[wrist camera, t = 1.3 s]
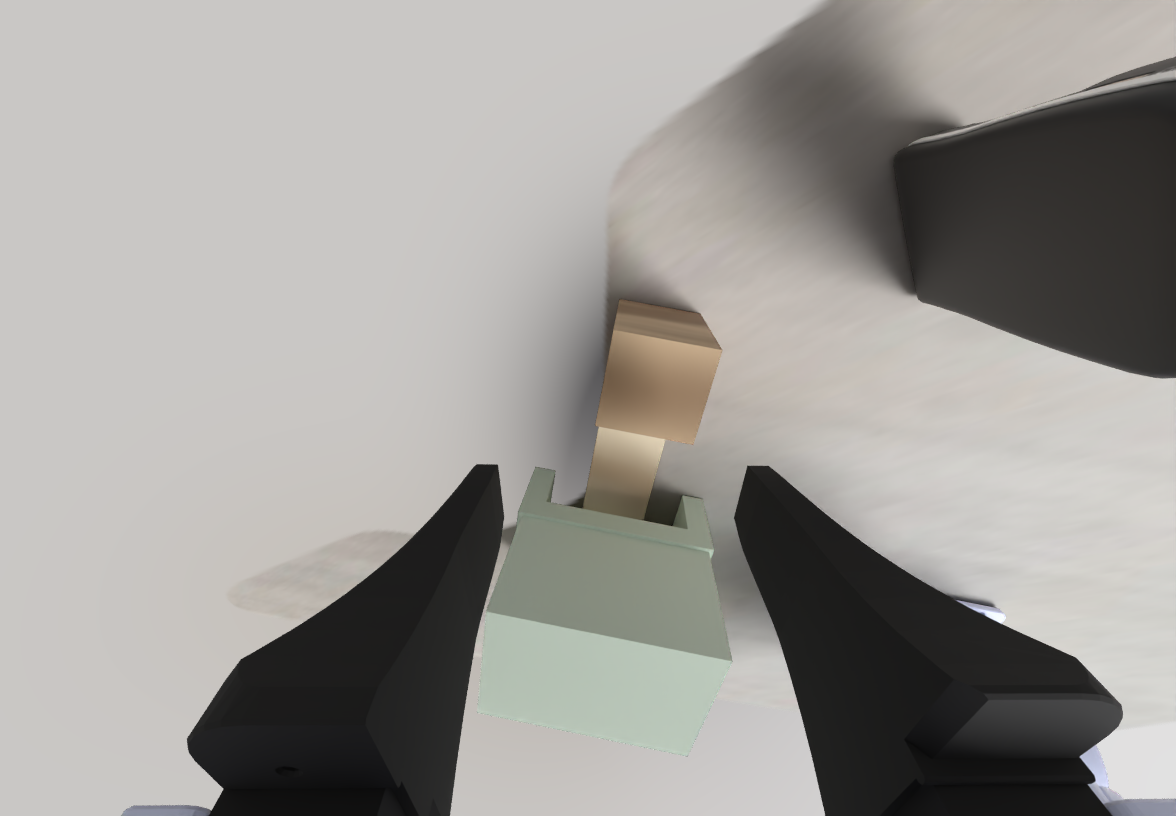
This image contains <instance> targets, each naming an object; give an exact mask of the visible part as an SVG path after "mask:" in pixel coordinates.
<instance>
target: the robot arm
mask: <svg viewBox="0 0 1176 816" xmlns="http://www.w3.org/2000/svg"><path fill="white" fill-rule="evenodd" d="M734 519H735V523H736V527H737V531H738V535H739V538H740V542H741V545H742V549H743V552H744V554H745V557H746V559H747V562H748V564H749V566H750V569H751V571H752V574H753V576H754V579H755V581H756V583H757V586H758V588H759V591H760V593H761V595H762V598H763V600H764V602H765V605H766V607H767V610H768V612H769V614H770V617H771V619H772V622H773V624H774V627H775V630H776V632H777V635H778V638H779V641H780V644H781V647H782V650H783V654H784V657H785V660H786V663H787V667H788V670H789V673H790V677H791V680H792V684H793V687H794V691H795V694H796V698H797V701H798V705H799V709H800V712H801V716H802V720H803V724H804V727H805V731H806V735H807V739H808V743H809V747H810V751H811V755H812V758H813V763H814V767H815V772H816V776H817V781H818V785H819V789H820V794H821V798H822V802H823V807H824V811H825V816H1176V799H1123V798H1122V797H1121V795H1120V794H1119V793H1117V792H1115V791H1113V790H1111V789H1109V784H1108V776H1107V772H1106V768H1105V765H1104V762H1103V760H1102V757H1101V755H1100V752H1099V750H1098V748H1097V746H1096V744H1097V743H1099V742H1100V741H1101V740H1103V739H1104V738H1105V737H1107V736H1108V735H1109V734H1111V733H1112V732H1113V731H1114V730H1115V729H1116V728H1117V727H1118V726H1119V724H1120V722H1121V720H1122V718H1123V711H1122V706H1121V704H1120V703H1119V702H1118V701H1117V700H1116V699H1115V698H1114V697H1113V696H1112V695H1111V694H1110V693H1109V692H1108V691H1107V689H1106V688H1105V687H1104V686H1103V685H1102V684H1101V683H1100V682H1099V681H1098V680H1097V679H1096V678H1095V677H1094V676H1093V675H1092V674H1091V673H1090V672H1089V671H1088V670H1087V669H1086V668H1085V667H1084V665H1083V664H1082V663H1081V662H1080V661H1079V660H1078V659H1077V658H1075V657H1073V656H1071V655H1069V654H1067V653H1064V652H1062V651H1060V650H1058V649H1055V648H1053V647H1051V646H1049V645H1046V644H1044V643H1042V642H1040V641H1038V640H1035V639H1033V638H1031V637H1029V636H1026V635H1024V634H1022V633H1020V632H1017V631H1015V630H1013V629H1011V628H1009V627H1007V626H1005V625H1003V624H1002V622H1003V621H1004V620H1005V618H1006V616H1005V614H1004V613H1003V612H1002V611H1001V610H1000V609H998V608H994V607H989V606H984V605H979V604H974V603H968V602H963V601H958V600H954V599H952V598H950V597H949V596H947V595H945V594H943V593H942V592H940V591H938V590H936V589H935V588H933V587H931V586H929V585H928V584H926V583H924V582H922V581H921V580H919V579H917V578H916V577H914V576H912V575H911V574H909V573H908V572H906V571H904V570H903V569H901V568H900V567H898V566H897V565H895V564H894V563H892V562H891V561H889V560H888V559H886V558H884V557H883V556H881V555H880V554H878V553H877V552H875V551H874V550H873V549H871V548H870V547H868V546H867V545H865V544H864V543H863V542H861V541H860V540H859V539H857V538H856V537H855V536H853V535H852V534H851V533H849V532H848V531H847V530H845V529H844V528H843V527H841V526H840V525H839V524H838V523H836V522H835V521H834V520H832V519H831V518H830V517H829V516H828V515H826V514H825V513H824V512H823V511H821V510H820V509H819V508H818V507H817V506H815V505H814V504H813V503H812V502H811V501H809V500H808V499H807V498H806V497H805V496H804V495H802V494H801V493H800V492H799V491H798V490H797V489H795V488H794V487H793V486H792V485H791V484H790V483H788V482H787V481H786V480H785V479H784V478H783V477H781V476H780V475H779V474H778V473H777V472H775V471H774V470H773V469H772V468H770V467H769V466H747V470H746V474H745V478H744V481H743V485H742V489H741V493H740V497H739V501H738V505H737V509H736V512H735V516H734ZM503 521H504V512H503V503H502V496H501V486H500V478H499V470H498V465H483V464H477V465H476V466H474V467H473V469H472V470H471V471H470V472H469V474H468V475H467V476H466V477H465V479H464V480H463V481H462V483H461V484H460V485H459V486H458V488H457V489H456V490H455V491H454V492H453V494H452V495H451V496H450V497H449V498H448V499H447V501H446V502H445V503H444V504H443V505H442V506H441V507H440V509H439V510H438V511H437V512H436V513H435V514H434V515H433V517H432V518H431V519H430V520H429V521H428V522H427V523H426V524H425V525H424V526H423V527H422V528H421V529H420V530H419V531H418V532H417V533H416V534H415V535H414V536H413V537H412V538H411V539H410V540H409V541H408V542H407V543H406V544H405V545H404V546H403V547H402V548H401V549H400V550H399V551H398V552H397V553H395V554H394V555H393V556H392V557H391V558H390V559H389V560H387V561H386V562H385V563H384V564H383V565H382V566H381V567H379V568H378V569H377V570H376V571H374V572H373V573H372V574H371V575H370V576H368V577H367V578H366V579H364V580H363V581H362V582H361V583H359V584H358V585H357V586H355V587H354V588H353V589H351V590H350V591H349V592H348V593H346V594H345V595H343V596H342V597H341V598H339V599H338V600H336V601H335V602H334V603H332V604H331V605H329V606H328V607H326V608H325V609H323V610H322V611H320V612H319V613H317V614H316V615H314V616H313V617H311V618H310V619H308V620H307V621H305V622H304V623H302V624H300V625H299V626H297V627H296V628H294V629H293V630H291V631H289V632H287V633H286V634H284V635H282V636H281V637H279V638H277V639H275V640H274V641H272V642H270V643H269V644H267V645H265V646H264V647H262V648H260V649H259V650H257V651H255V652H253V653H252V654H250V655H248V656H246V657H244V658H243V659H241V660H240V661H239V663H238V664H237V666H236V667H235V668H234V669H233V671H232V672H231V674H230V675H229V676H228V678H227V679H226V680H225V682H224V683H223V685H222V686H221V688H220V689H219V691H218V692H217V694H216V695H215V697H214V698H213V700H212V702H211V703H210V705H209V706H208V708H207V710H206V711H205V712H204V714H203V715H202V717H201V718H200V720H199V722H198V723H197V724H196V726H195V727H194V729H193V730H192V732H191V734H190V735H189V736H188V738H187V743H188V750H189V753H190V755H191V756H192V757H193V759H194V760H195V761H196V762H197V763H198V764H199V765H200V766H201V767H202V768H203V769H204V770H205V771H206V772H207V773H208V774H209V775H210V776H211V777H212V778H213V779H214V780H215V781H216V782H217V783H218V784H219V785H220V786H221V787H222V788H223V791H222V793H221V795H220V797H219V798H218V800H217V802H216V804H215V806H214V808H213V809H212V811H211V810H209V809H207V808H202V807H199V806H189V805H175V806H174V805H172V806H171V805H169V806H168V805H167V806H166V805H163V806H162V805H161V806H132V807H130V808H128V809H126V810H125V811H124V812H123V814H122V815H121V816H450V810H451V803H452V795H453V787H454V780H455V772H456V764H457V757H458V750H459V743H460V736H461V729H462V722H463V715H464V709H465V703H466V696H467V690H468V684H469V677H470V671H471V665H472V660H473V654H474V648H475V642H476V637H477V633H478V628H479V624H480V620H481V616H482V612H483V609H484V605H485V601H486V598H487V594H488V590H489V587H490V583H491V579H492V576H493V572H494V568H495V564H496V560H497V557H498V553H499V549H500V542H501V536H502V528H503Z"/></svg>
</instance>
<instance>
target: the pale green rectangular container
mask: <svg viewBox="0 0 1176 816" xmlns="http://www.w3.org/2000/svg"><path fill="white" fill-rule="evenodd" d="M554 477H555V470H550V469H545V468H539V467H535V470H534V472H533V475H532V477H531V480H530V483H529V485H528V488H527V490H526V493H525V496H524V498H523V501H522V503H521V506H520V508H519V511H518V518H517V527H516V532H515V535H514V538H513V540H512V543H511V546H510V548H509V551H508V554H507V556H506V559H505V562H504V564H503V567H502V570H501V572H500V575H499V578H498V581H497V583H496V586H495V589H494V591H493V594H492V597H491V599H490V602H489V605H488V607H487V610H486V617H485V628H484V640H483V651H482V664H481V675H480V686H479V697H478V709H477V713H481V714H486V715H490V716H496V717H500V718H505V719H510V720H515V721H519V722H524V723H529V724H534V725H538V726H543V727H548V728H553V729H558V730H562V731H567V732H572V733H577V734H582V735H586V736H592V737H596V738H601V739H606V740H611V741H615V742H620V743H625V744H630V745H635V746H639V747H644V748H649V749H654V750H659V751H664V752H669V753H673V754H678V755H683V756H688V755H689V752H690V751H691V748H692V746H693V744H694V742H695V740H696V738H697V736H698V734H699V731H700V729H701V727H702V725H703V723H704V721H705V718H706V717H707V714H708V712H709V710H710V708H711V706H712V704H713V702H714V700H715V698H716V695H717V693H718V691H719V689H720V687H721V685H722V683H723V681H724V678H725V676H726V674H727V672H728V670H729V668H730V666H731V664H732V657H731V652H730V648H729V643H728V638H727V634H726V629H725V624H724V620H723V615H722V610H721V605H720V601H719V596H718V591H717V587H716V582H715V577H714V573H713V568H712V563H711V557H712V555H713V552H714V547H713V542H712V538H711V534H710V529H709V525H708V521H707V516H706V512H705V508H704V503H703V499H699V498H694V497H689V496H684V495H682V498H681V501H680V504H679V508H678V511H677V514H676V517H675V520H674V524H673V526H668V525H663V524H658V523H653V522H648V521H642V520H637V519H632V518H627V517H622V516H617V515H612V514H607V513H602V512H597V511H591V510H586V509H581V508H576V507H571V506H566V505H561V504H555V503H551V496H552V490H553V484H554Z"/></svg>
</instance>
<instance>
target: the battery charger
mask: <svg viewBox="0 0 1176 816" xmlns="http://www.w3.org/2000/svg"><path fill="white" fill-rule="evenodd" d="M894 169H895V175H896V181H897V188H898V194H899V200H900V206H901V212H902V218H903V223H904V229H905V235H906V240H907V246H908V251H909V257H910V262H911V267H912V273H913V278H914V283H915V288H916V293H917V297H918V299H919V300H920V301H921V302H923V303H927V304H930V305H934V306H937V307H941V308H944V309H947V310H950V311H953V312H957V313H959V314H962V315H965V316H968V317H971V318H973V319H975V320H978V321H980V322H983V323H985V324H988V325H990V326H993V327H995V328H998V329H1001V330H1003V331H1006V332H1009V333H1011V334H1014V335H1016V336H1019V337H1022V338H1024V339H1027V340H1030V341H1032V342H1035V343H1038V344H1041V345H1044V346H1047V347H1049V348H1052V349H1055V350H1058V351H1061V352H1064V353H1067V354H1070V355H1074V356H1077V357H1080V358H1083V359H1086V360H1089V361H1093V362H1096V363H1099V364H1102V365H1106V366H1109V367H1112V368H1116V369H1119V370H1122V371H1126V372H1129V373H1134V374H1139V375H1144V376H1149V377H1154V378H1176V57H1173V58H1170V59H1166V60H1163V61H1160V62H1156V63H1153V64H1150V65H1146V66H1143V67H1140V68H1137V69H1134V70H1131V71H1128V72H1125V73H1122V74H1119V75H1116V76H1114V77H1111V78H1109V79H1106V80H1104V81H1102V82H1100V83H1098V84H1095V85H1093V86H1091V87H1089V88H1086V89H1084V90H1082V91H1080V92H1077V93H1073V94H1070V95H1067V96H1064V97H1061V98H1057V99H1054V100H1051V101H1048V102H1045V103H1042V104H1039V105H1036V106H1033V107H1030V108H1026V109H1023V110H1021V111H1017V112H1014V113H1011V114H1008V115H1005V116H1002V117H999V118H996V119H993V120H989V121H986V122H981V123H977V124H975V123H974V124H971V125H968V126H963V127H957V128H953V129H950V130H945V131H941V132H939V133H937V134H935V135H932V136H929V137H923V138H920V139H918V140H916V141H914V142H912V143H910V144H909V146H908V147H906V148H904V149H903V150H901V151H899V152H898V153H897V154H896V155H895V157H894Z"/></svg>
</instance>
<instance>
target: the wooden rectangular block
mask: <svg viewBox="0 0 1176 816" xmlns="http://www.w3.org/2000/svg"><path fill="white" fill-rule="evenodd" d="M721 353H722V349H721V347H720V345H719V344H718V342H717V340H716V339H715V337H714V335H713V334H712V332H711V330H710V329H709V327H708V326H707V324H706V322H705V321H704V319H703V317H702V316H701V314H699V313H693V312H688V311H682V310H677V309H672V308H666V307H661V306H655V305H650V304H645V303H639V302H634V301H628V300H623V299H619V304H618V309H617V314H616V319H615V324H614V330H613V335H612V340H611V345H610V351H609V356H608V361H607V366H606V371H605V377H604V382H603V387H602V392H601V398H600V403H599V408H598V414H597V419H596V424H595V426H598V427H599V428H598V432H597V437H596V443H595V448H594V453H593V458H592V463H591V469H590V473H589V478H588V483H587V489H586V494H585V499H584V504H583V509H586V510H591V511H597V512H602V513H607V514H612V515H617V516H622V517H627V518H632V519H637V520H642V521H643V520H644V516H645V512H646V509H647V505H648V501H649V498H650V494H651V490H652V487H653V483H654V480H655V476H656V472H657V469H658V465H659V461H660V458H661V454H662V450H663V447H664V443H665V440H671V441H676V442H681V443H686V444H692V445H693V444H694V441H695V438H696V434H697V431H698V428H699V425H700V421H701V418H702V415H703V412H704V408H705V405H706V402H707V399H708V395H709V392H710V389H711V386H712V382H713V379H714V376H715V373H716V369H717V366H718V363H719V360H720V356H721Z"/></svg>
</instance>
